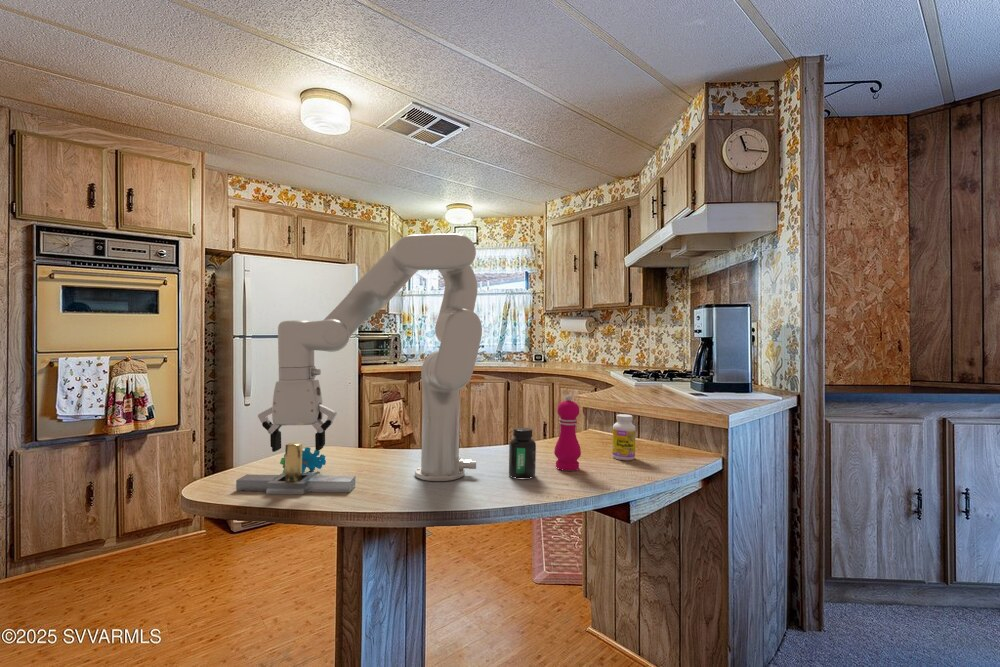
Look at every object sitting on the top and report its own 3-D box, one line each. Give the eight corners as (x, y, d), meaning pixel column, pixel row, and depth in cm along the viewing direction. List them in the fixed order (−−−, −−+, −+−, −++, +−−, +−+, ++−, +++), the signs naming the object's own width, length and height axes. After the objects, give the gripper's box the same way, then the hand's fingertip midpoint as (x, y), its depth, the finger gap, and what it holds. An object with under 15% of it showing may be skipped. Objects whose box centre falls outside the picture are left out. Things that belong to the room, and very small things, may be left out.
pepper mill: (584, 467, 130) (586, 394, 130) (574, 473, 123) (575, 397, 124) (560, 463, 133) (562, 392, 134) (549, 468, 127) (550, 395, 128)
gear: (332, 463, 122) (317, 442, 115) (327, 484, 118) (311, 464, 111) (291, 468, 123) (274, 447, 116) (285, 489, 118) (266, 468, 111)
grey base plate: (357, 483, 111) (357, 473, 111) (347, 495, 103) (347, 484, 103) (250, 482, 110) (250, 472, 110) (231, 493, 102) (231, 482, 102)
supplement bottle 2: (612, 460, 138) (613, 416, 138) (611, 454, 145) (612, 413, 145) (636, 461, 137) (637, 417, 137) (633, 456, 144) (634, 414, 144)
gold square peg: (303, 486, 108) (304, 442, 108) (297, 491, 105) (298, 446, 105) (288, 486, 108) (289, 442, 108) (281, 490, 105) (282, 446, 105)
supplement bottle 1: (524, 481, 115) (525, 432, 116) (503, 475, 120) (504, 428, 120) (540, 476, 120) (541, 429, 121) (519, 470, 125) (520, 425, 125)
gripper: (340, 372, 111) (341, 445, 111) (266, 374, 110) (267, 446, 110) (329, 375, 103) (330, 453, 103) (250, 377, 103) (251, 455, 103)
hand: (298, 449), depth 107 cm, fingers open, 9 cm apart
